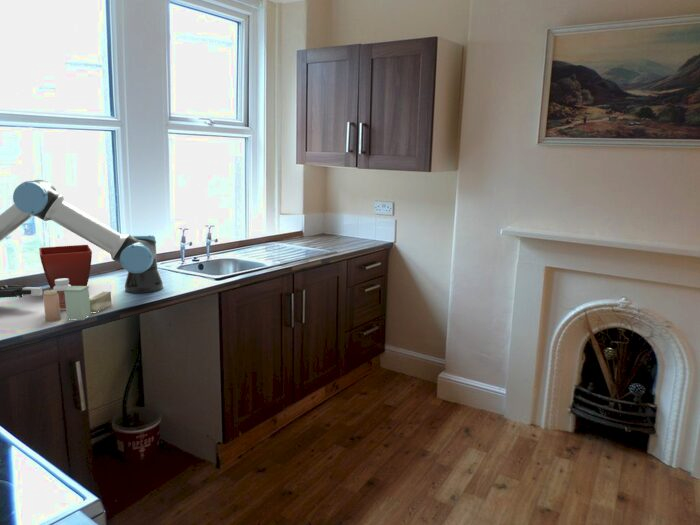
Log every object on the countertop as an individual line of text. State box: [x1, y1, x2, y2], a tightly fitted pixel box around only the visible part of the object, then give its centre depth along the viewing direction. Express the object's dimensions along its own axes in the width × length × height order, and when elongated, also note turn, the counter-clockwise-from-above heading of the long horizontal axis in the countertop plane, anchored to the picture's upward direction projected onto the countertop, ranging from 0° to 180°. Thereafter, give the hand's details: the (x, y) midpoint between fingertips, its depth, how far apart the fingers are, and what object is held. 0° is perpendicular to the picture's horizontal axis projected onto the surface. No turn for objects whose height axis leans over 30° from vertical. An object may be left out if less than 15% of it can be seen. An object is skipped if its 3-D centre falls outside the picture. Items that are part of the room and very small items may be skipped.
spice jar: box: [42, 289, 62, 322], centre depth 192 cm, size 5×5×10 cm
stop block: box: [89, 291, 112, 313], centre depth 206 cm, size 3×12×5 cm, turn 179°
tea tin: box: [64, 285, 92, 321], centre depth 194 cm, size 6×6×11 cm
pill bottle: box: [53, 278, 71, 311], centre depth 205 cm, size 6×6×11 cm
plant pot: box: [38, 244, 93, 290], centre depth 236 cm, size 19×19×17 cm
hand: (41, 291), depth 205 cm, fingers closed
